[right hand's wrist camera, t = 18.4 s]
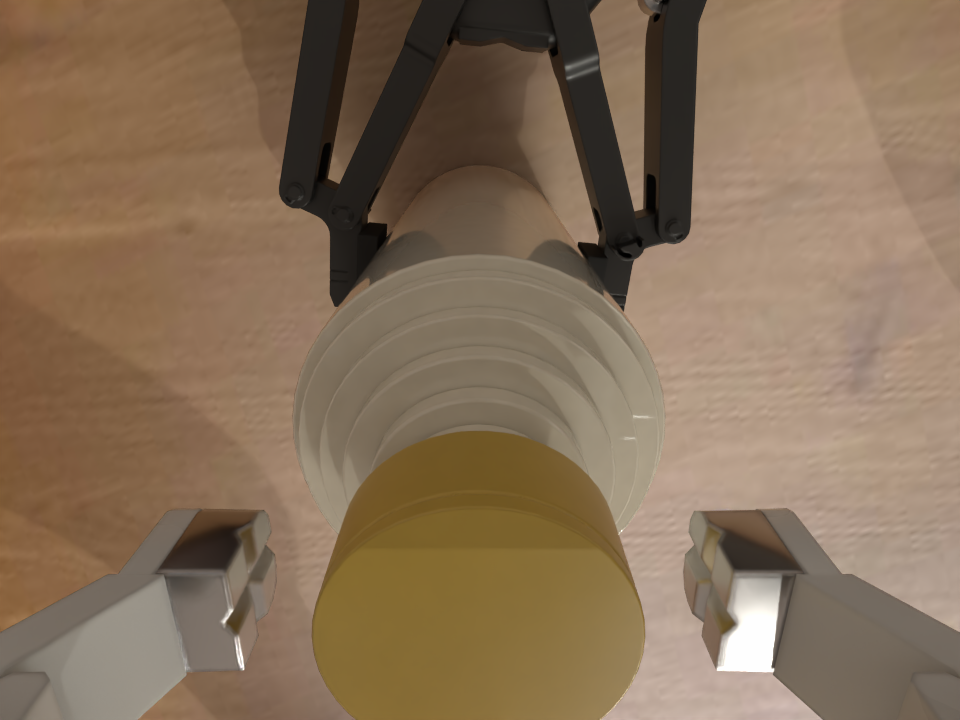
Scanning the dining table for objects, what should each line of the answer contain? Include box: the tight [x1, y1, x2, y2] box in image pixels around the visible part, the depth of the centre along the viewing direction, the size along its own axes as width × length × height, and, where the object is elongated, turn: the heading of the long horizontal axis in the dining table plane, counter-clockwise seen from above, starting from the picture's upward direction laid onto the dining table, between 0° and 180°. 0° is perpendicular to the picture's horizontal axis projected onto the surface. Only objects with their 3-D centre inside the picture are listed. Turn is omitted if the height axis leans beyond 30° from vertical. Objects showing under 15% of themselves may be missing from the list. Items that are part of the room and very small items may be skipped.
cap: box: [312, 431, 645, 720], centre depth 9 cm, size 4×4×2 cm
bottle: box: [292, 165, 665, 535], centre depth 20 cm, size 8×8×25 cm
